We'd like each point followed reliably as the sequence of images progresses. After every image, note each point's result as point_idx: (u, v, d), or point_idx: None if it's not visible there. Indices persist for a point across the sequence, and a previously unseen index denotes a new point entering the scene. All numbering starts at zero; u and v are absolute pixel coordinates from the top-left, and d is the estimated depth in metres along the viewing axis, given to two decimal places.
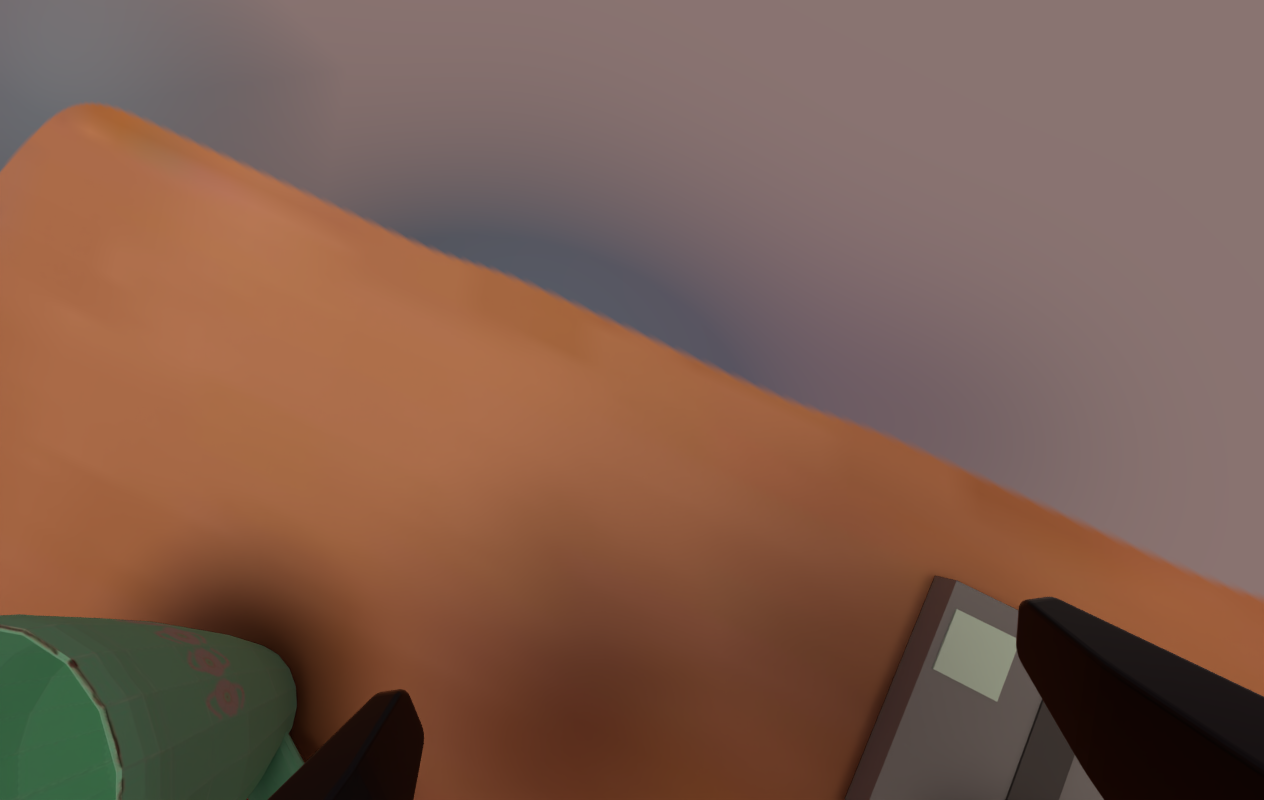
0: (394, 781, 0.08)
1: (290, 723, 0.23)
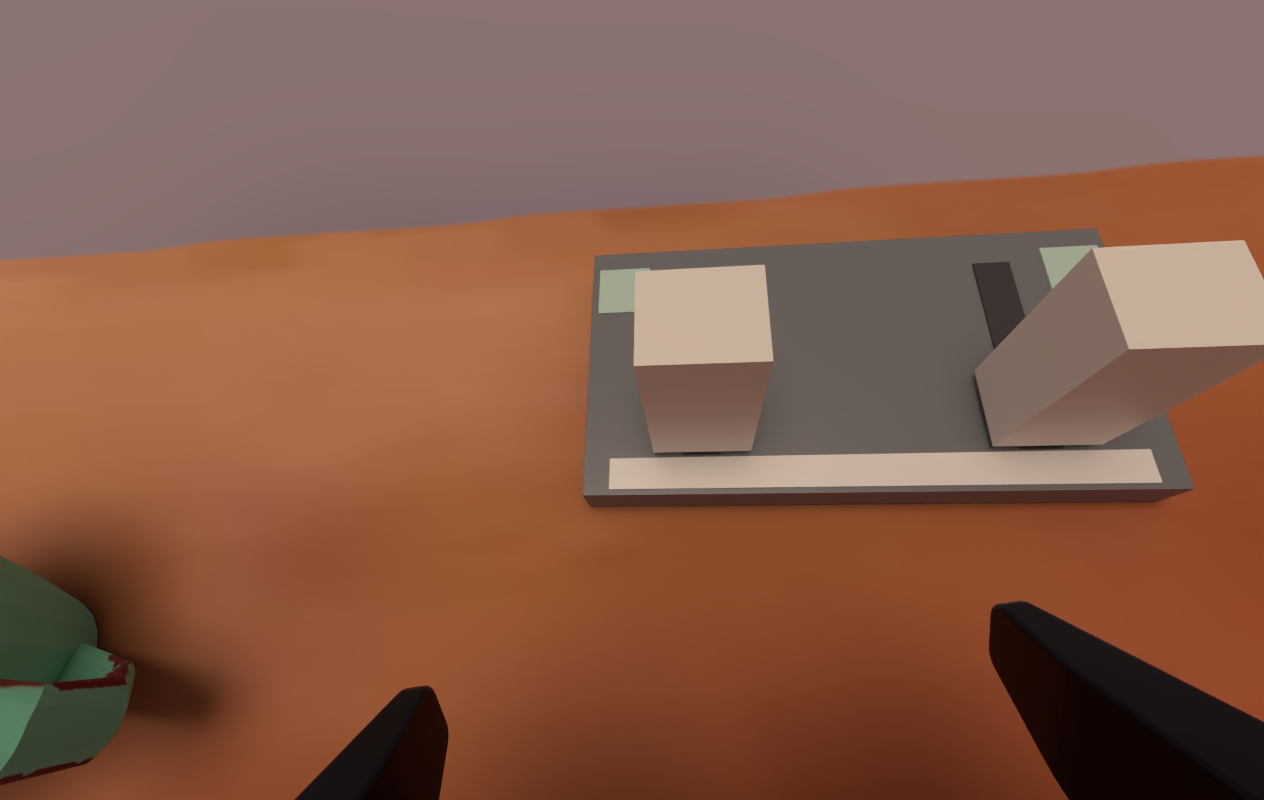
0: (422, 777, 0.08)
1: (90, 641, 0.23)
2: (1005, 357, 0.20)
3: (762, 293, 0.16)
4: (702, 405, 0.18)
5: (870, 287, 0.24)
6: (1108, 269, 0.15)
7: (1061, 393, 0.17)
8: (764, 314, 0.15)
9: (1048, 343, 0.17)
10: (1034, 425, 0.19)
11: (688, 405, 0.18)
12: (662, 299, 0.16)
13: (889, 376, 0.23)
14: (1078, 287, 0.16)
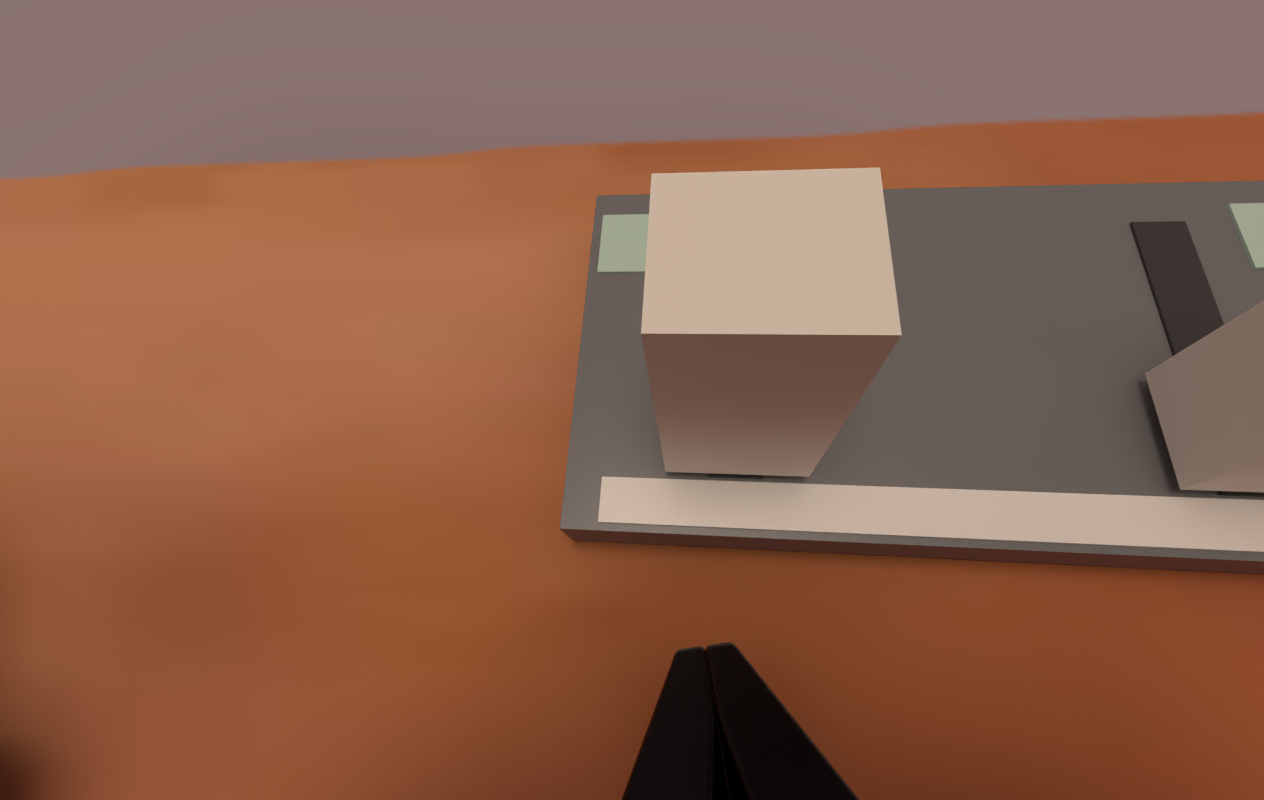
0: None
1: None
2: (1223, 354, 0.13)
3: (877, 215, 0.09)
4: (750, 408, 0.11)
5: (982, 250, 0.17)
6: None
7: None
8: (882, 251, 0.09)
9: None
10: None
11: (728, 408, 0.11)
12: (697, 221, 0.09)
13: (1012, 376, 0.15)
14: None
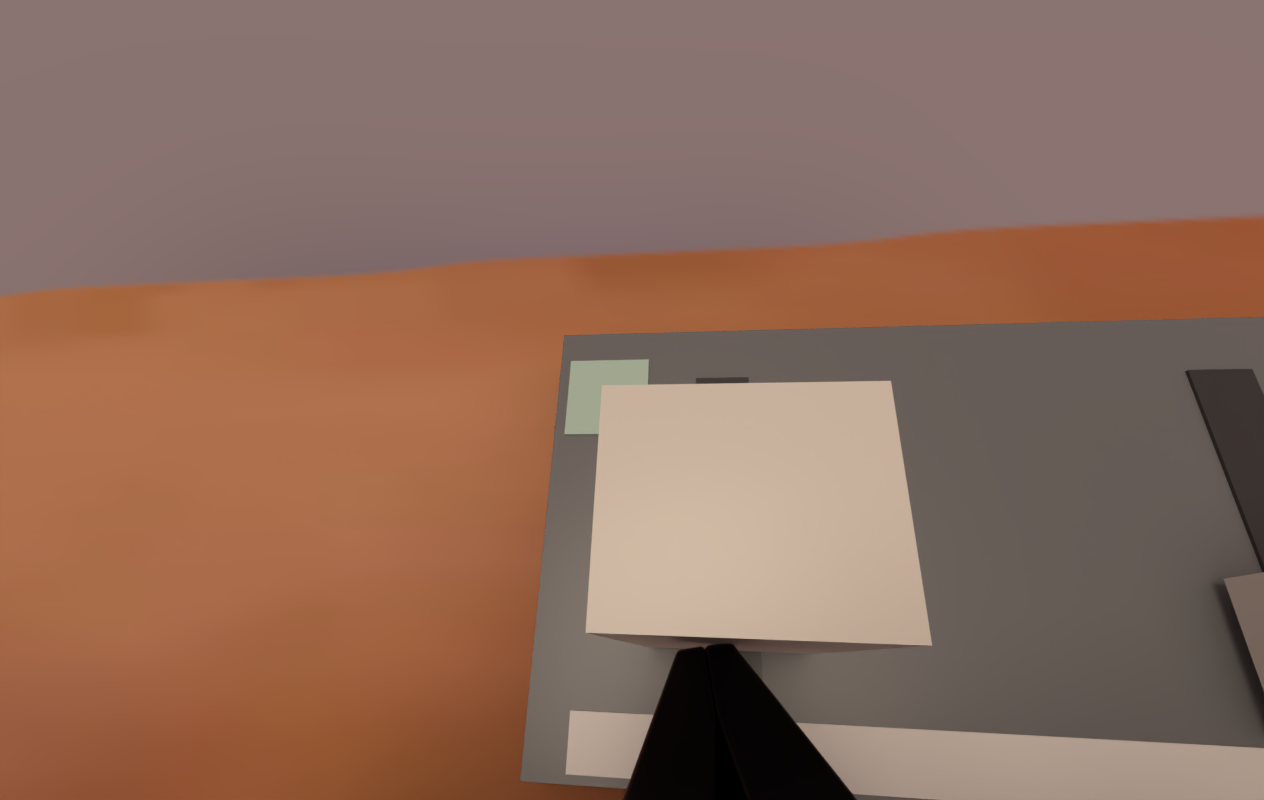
0: None
1: None
2: None
3: (890, 454, 0.07)
4: (739, 645, 0.09)
5: (1013, 405, 0.15)
6: None
7: None
8: (899, 510, 0.07)
9: None
10: None
11: (711, 643, 0.09)
12: (659, 458, 0.07)
13: (1060, 575, 0.13)
14: None
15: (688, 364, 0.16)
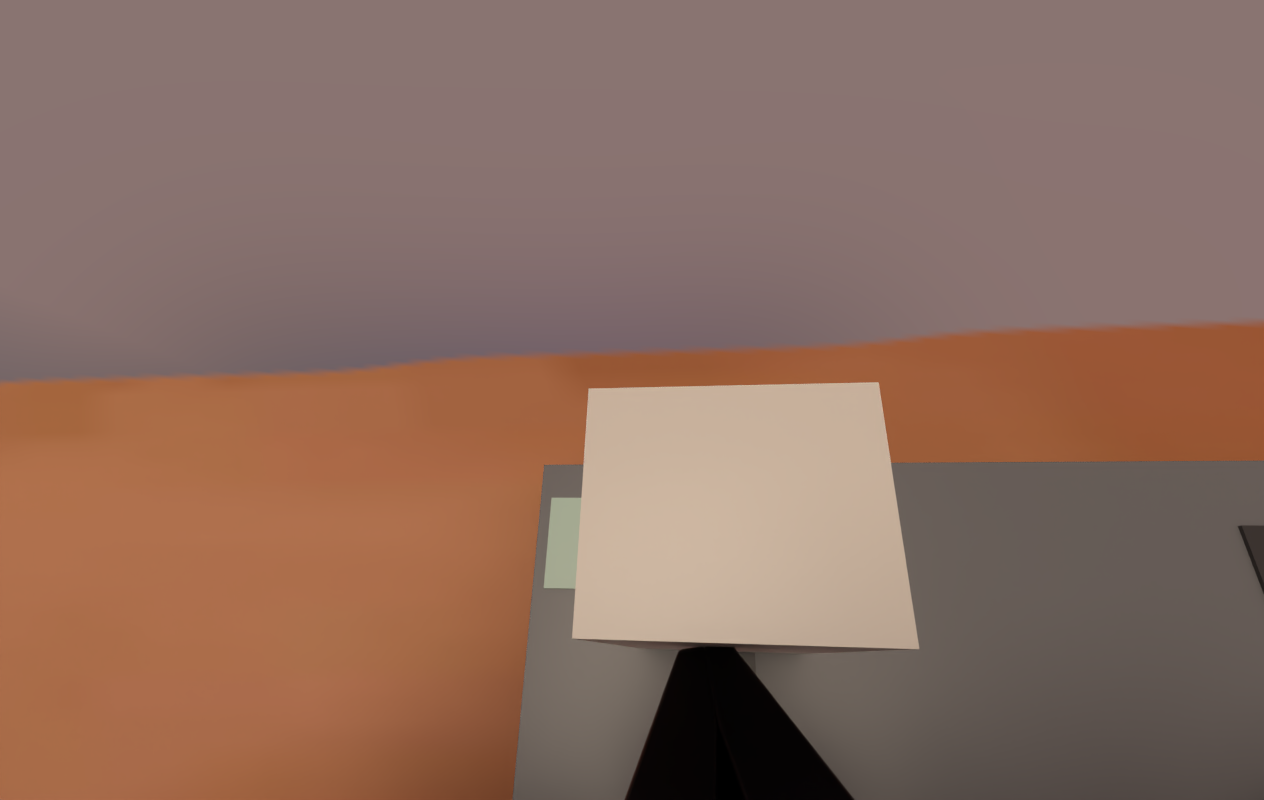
0: None
1: None
2: None
3: (877, 455, 0.07)
4: None
5: (1045, 563, 0.13)
6: None
7: None
8: (887, 512, 0.07)
9: None
10: None
11: None
12: (646, 461, 0.07)
13: (1104, 780, 0.11)
14: None
15: None
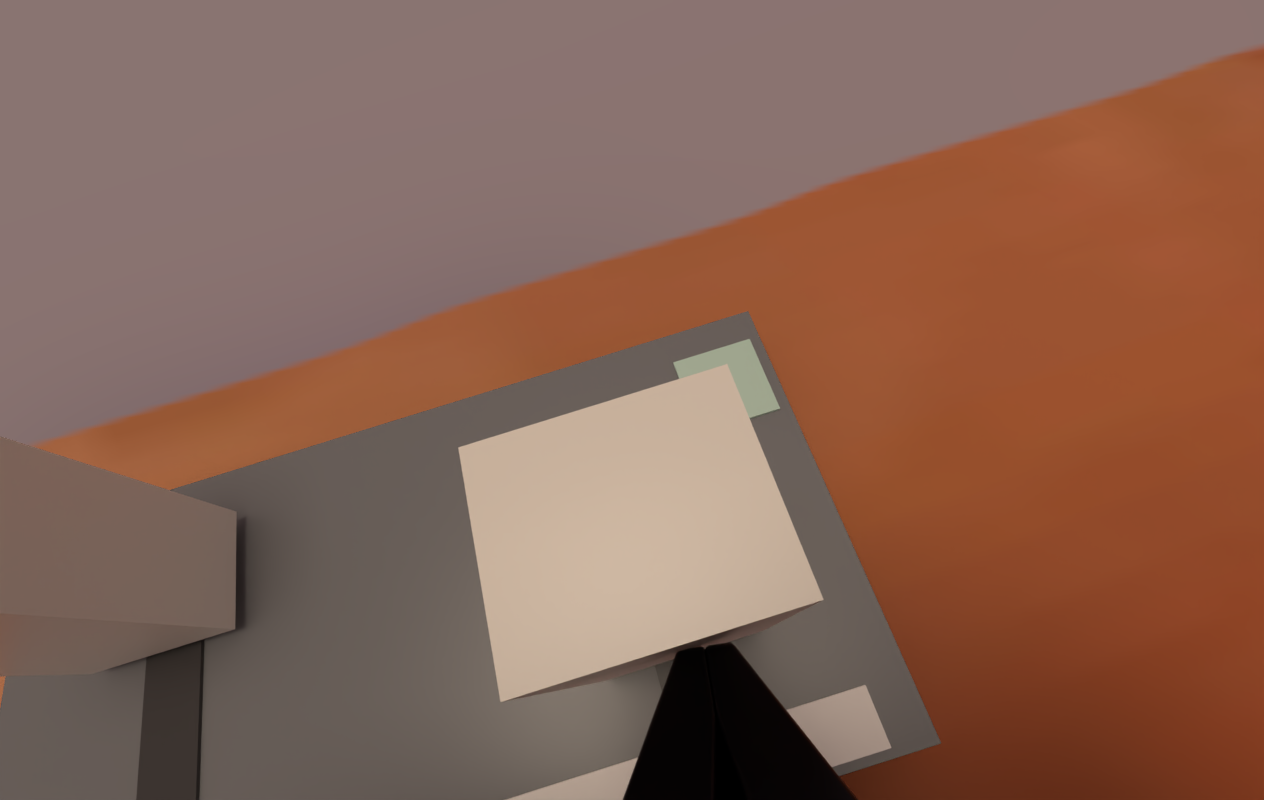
0: None
1: None
2: None
3: None
4: None
5: (443, 487, 0.15)
6: (482, 493, 0.07)
7: None
8: None
9: None
10: (609, 677, 0.11)
11: None
12: None
13: (472, 647, 0.14)
14: None
15: None
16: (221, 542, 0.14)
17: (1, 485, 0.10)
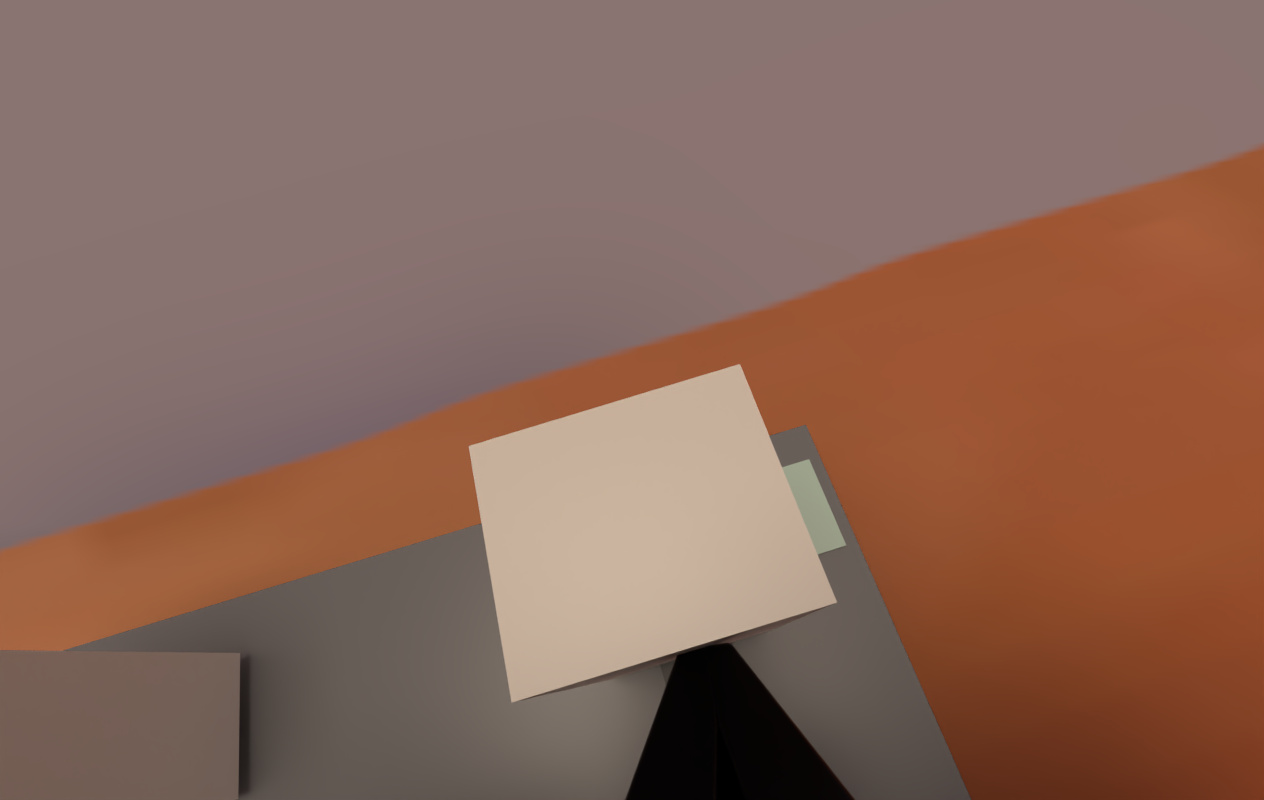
0: None
1: None
2: None
3: None
4: None
5: (469, 626, 0.14)
6: (493, 492, 0.07)
7: None
8: None
9: None
10: (616, 676, 0.11)
11: None
12: None
13: None
14: None
15: None
16: (223, 696, 0.13)
17: None
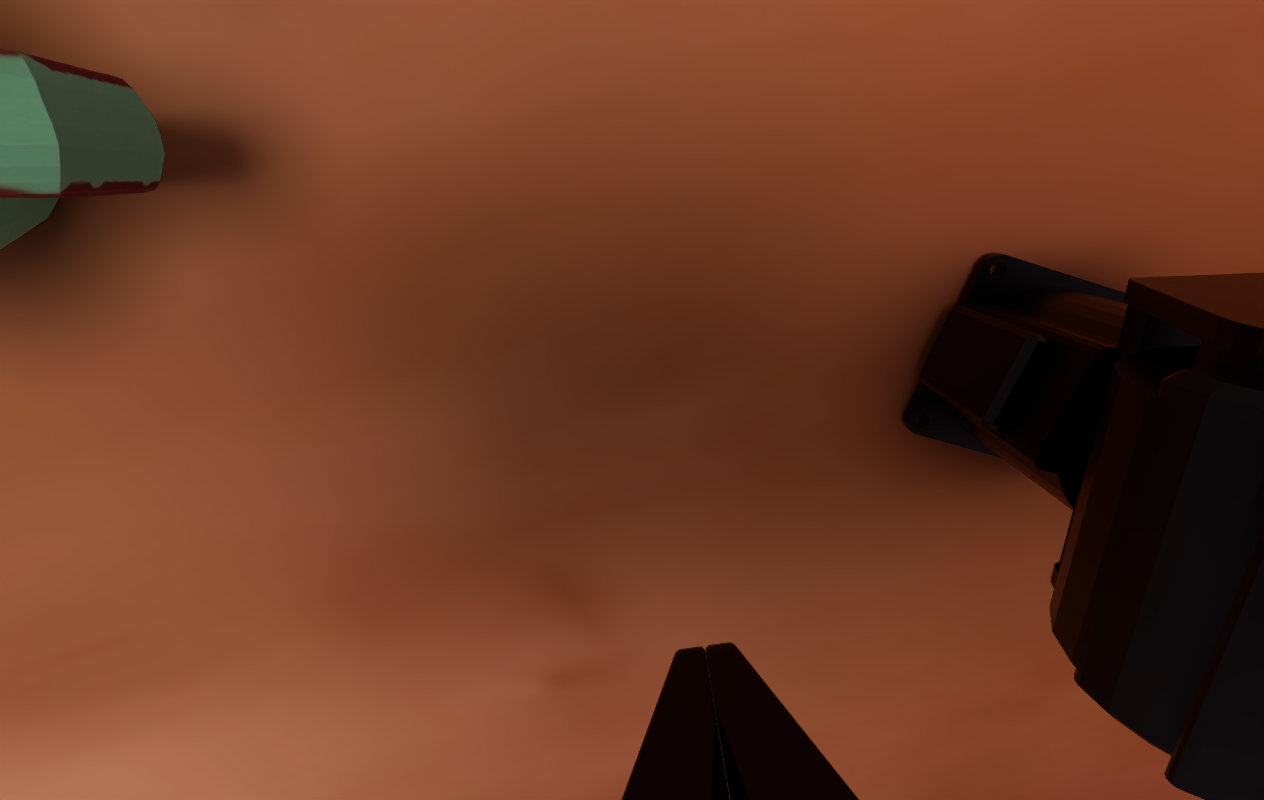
0: None
1: None
2: None
3: None
4: None
5: None
6: None
7: None
8: None
9: None
10: None
11: None
12: None
13: None
14: None
15: None
16: None
17: None
